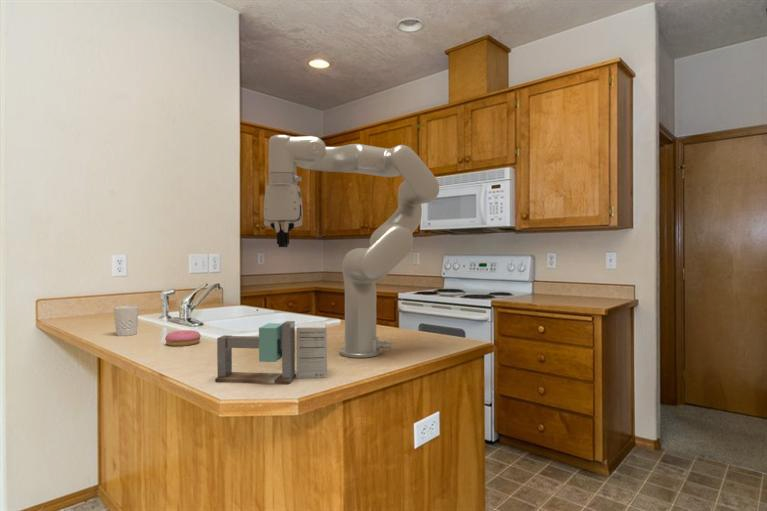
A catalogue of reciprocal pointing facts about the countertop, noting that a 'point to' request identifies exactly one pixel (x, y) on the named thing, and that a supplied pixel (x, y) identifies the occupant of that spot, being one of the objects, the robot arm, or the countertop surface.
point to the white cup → (126, 320)
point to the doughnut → (182, 338)
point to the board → (254, 378)
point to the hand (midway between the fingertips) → (283, 246)
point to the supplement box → (311, 350)
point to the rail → (283, 343)
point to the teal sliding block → (269, 342)
